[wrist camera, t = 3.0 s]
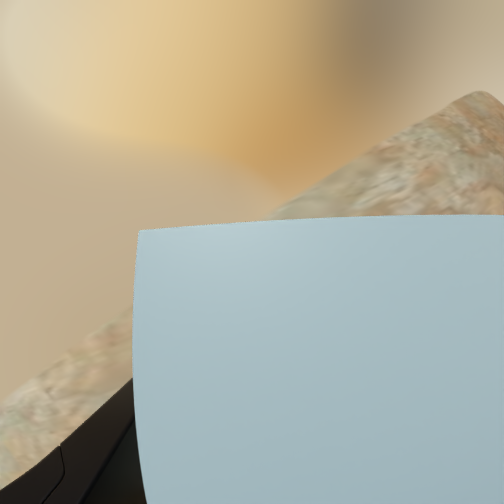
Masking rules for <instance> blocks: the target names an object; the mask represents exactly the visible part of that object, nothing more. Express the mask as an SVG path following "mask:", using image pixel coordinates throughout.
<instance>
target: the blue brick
mask: <svg viewBox="0 0 504 504" xmlns="http://www.w3.org/2000/svg"><path fill="white" fill-rule="evenodd" d="M132 356H133V390H134V407H135V420H136V431H137V441H138V450H139V458H140V465H141V472H142V478H143V484H144V490H145V496H146V501H147V504H504V215H400V216H363V217H335V218H312V219H292V220H273V221H256V222H241V223H226V224H212V225H199V226H186V227H173V228H161V229H150V230H140V231H139V235H138V245H137V255H136V267H135V281H134V299H133V333H132Z"/></svg>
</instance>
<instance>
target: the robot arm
mask: <svg viewBox="0 0 504 504" xmlns="http://www.w3.org/2000/svg"><path fill="white" fill-rule="evenodd" d="M0 504H147V501H146V496H145V490H144V484H143V478H142V472H141V465H140V458H139V450H138V441H137V431H136V420H135V407H134V390H133V378H131V379H130V380H129V381H128V382H127V383H126V384H125V385H124V386H123V387H122V388H121V389H120V390H119V391H117V392H116V393H115V394H114V395H113V396H112V397H111V398H110V399H109V400H108V401H107V402H106V403H104V404H103V405H102V406H101V407H100V408H99V409H98V410H97V411H96V412H95V413H94V414H92V415H91V416H90V417H89V418H88V419H87V420H86V421H85V422H84V423H83V424H82V425H80V426H79V427H78V428H77V429H76V430H75V431H74V432H73V433H72V434H71V435H69V436H68V437H67V438H66V439H65V440H64V441H63V442H62V443H61V444H60V446H57V447H56V448H55V449H54V450H53V451H52V452H51V453H49V454H48V455H47V456H46V457H45V458H44V459H42V460H41V461H40V462H39V463H38V464H36V465H35V466H34V467H33V468H31V469H30V470H29V471H27V472H26V473H24V474H23V475H22V476H20V477H19V478H17V479H16V480H15V481H13V482H12V483H10V484H9V485H7V486H6V487H4V488H3V489H1V490H0Z"/></svg>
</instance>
